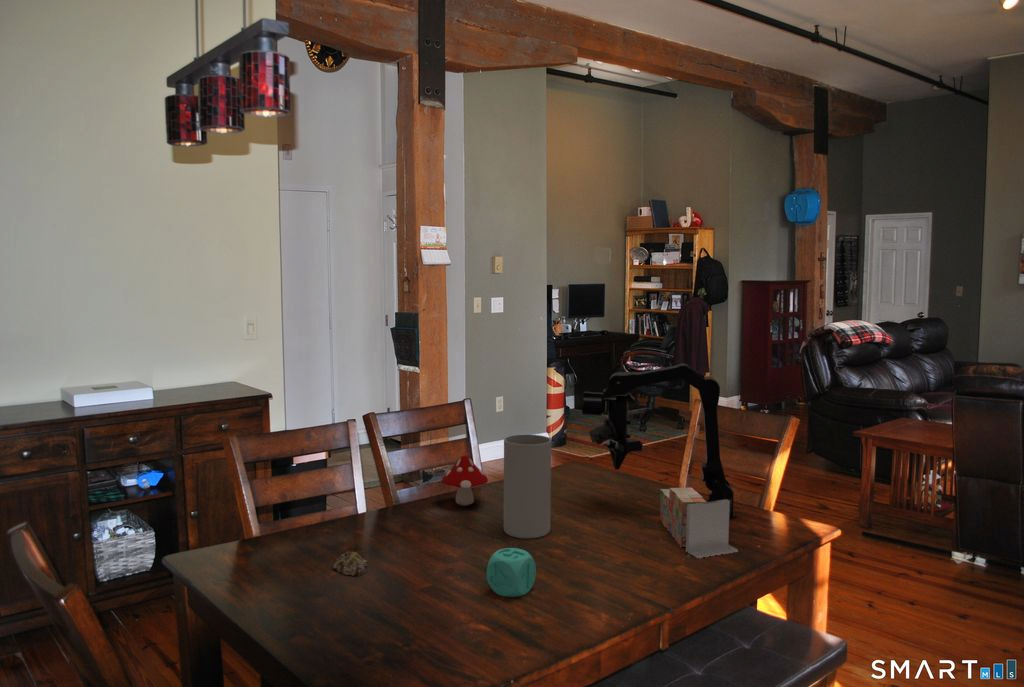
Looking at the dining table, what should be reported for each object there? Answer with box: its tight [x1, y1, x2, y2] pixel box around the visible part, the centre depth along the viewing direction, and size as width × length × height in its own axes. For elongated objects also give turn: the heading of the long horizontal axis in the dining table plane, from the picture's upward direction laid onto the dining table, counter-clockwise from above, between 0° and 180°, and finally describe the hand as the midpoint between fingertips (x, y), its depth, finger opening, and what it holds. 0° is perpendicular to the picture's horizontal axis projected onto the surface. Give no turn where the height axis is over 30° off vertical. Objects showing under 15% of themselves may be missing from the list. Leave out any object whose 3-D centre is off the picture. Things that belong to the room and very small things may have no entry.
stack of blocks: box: [659, 487, 707, 548], centre depth 203 cm, size 21×6×12 cm, turn 4°
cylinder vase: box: [503, 434, 552, 540], centre depth 203 cm, size 12×12×25 cm
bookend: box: [685, 499, 739, 559], centre depth 190 cm, size 12×5×12 cm, turn 112°
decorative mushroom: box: [441, 454, 489, 507], centre depth 226 cm, size 14×14×15 cm
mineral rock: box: [332, 551, 370, 577], centre depth 178 cm, size 11×4×8 cm
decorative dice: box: [486, 547, 537, 598], centre depth 167 cm, size 8×8×8 cm
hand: (616, 469), depth 223 cm, fingers closed
